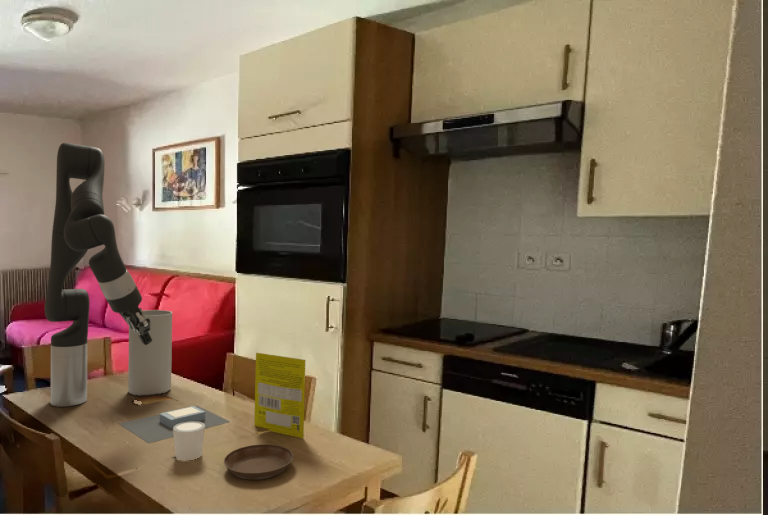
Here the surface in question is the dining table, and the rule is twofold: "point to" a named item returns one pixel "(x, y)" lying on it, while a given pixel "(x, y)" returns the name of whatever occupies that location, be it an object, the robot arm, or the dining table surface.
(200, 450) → the white tapered cup
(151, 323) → the cylinder vase
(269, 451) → the saucer
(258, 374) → the food package
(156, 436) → the mat
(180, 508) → the dining table surface
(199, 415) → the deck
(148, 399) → the parchment
